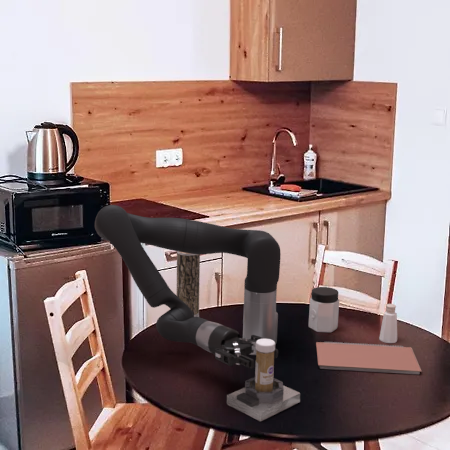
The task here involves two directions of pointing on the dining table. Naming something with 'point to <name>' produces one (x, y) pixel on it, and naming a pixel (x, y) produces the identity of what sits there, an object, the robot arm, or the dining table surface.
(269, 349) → the sprinkles bottle
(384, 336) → the salt shaker
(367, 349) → the notebook
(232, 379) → the dining table surface
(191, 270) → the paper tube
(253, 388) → the octagonal ring base plate
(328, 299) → the jar
